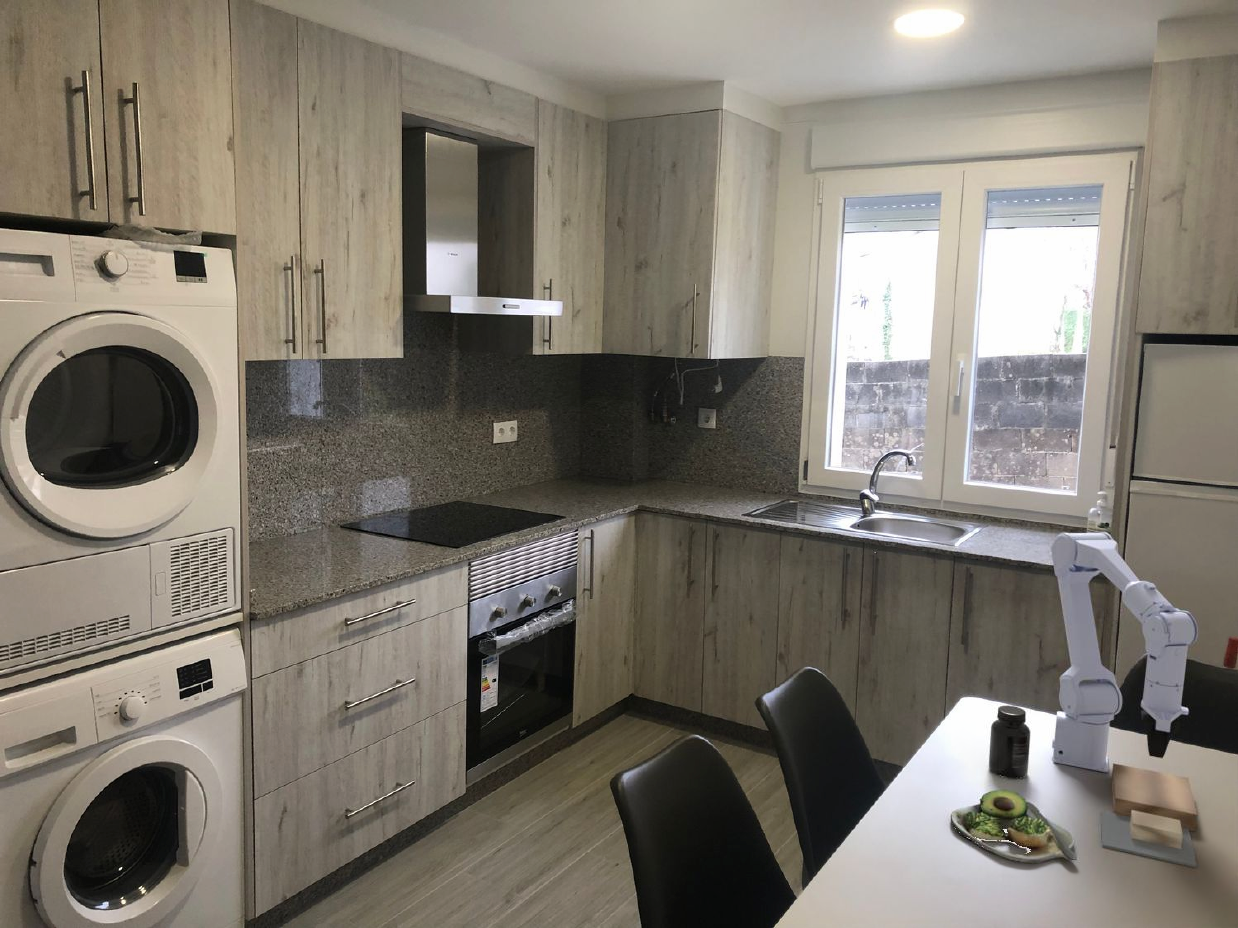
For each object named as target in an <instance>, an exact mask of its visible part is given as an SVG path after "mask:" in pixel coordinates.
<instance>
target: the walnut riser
mask: <svg viewBox="0 0 1238 928" xmlns="http://www.w3.org/2000/svg"><path fill="white" fill-rule="evenodd" d="M1111 770H1112V772H1111V789H1112V790H1111V791H1112V805H1113V806H1112V807H1113V813H1116V814H1121V815H1125V816H1130V817H1131V811H1132V810H1134V811H1139V812H1144V813H1148V814H1153V815H1158V816H1162V817H1167V818H1172V819H1177V820H1180V823H1181V827H1182V828H1187V829H1189V832H1196V828H1197V819H1198V813H1197V812H1198V811H1197V809H1196V805H1195V800H1194V795H1193V792H1192V788H1191V783H1190V780H1189V777H1186V776H1182V775H1176V774H1170V773H1165V772H1161V771H1155V770H1148V769H1144V768H1140V767H1134V766H1129V765H1123V764H1120V763H1119V764H1118V763H1112V769H1111Z"/></svg>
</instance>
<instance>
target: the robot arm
mask: <svg viewBox="0 0 1238 928" xmlns="http://www.w3.org/2000/svg"><path fill="white" fill-rule="evenodd" d="M1051 544H1052V545H1051V546H1050V551H1051V558H1052V563H1053V570H1054V575H1055V577H1057V583H1058V590H1059V597H1060V602H1061V608H1062V615H1063V623H1064V627H1065V634H1066V642H1067V649H1068V653H1069V660H1070V665H1071V666H1070V667H1069V668H1068V669H1067V670H1066V671H1065V672H1064V673H1062V674H1061V676H1060V677H1059V685H1060V687H1059V693H1058V699H1059V700H1058V701H1059V705H1060V707H1061V708H1062V710H1063V711H1059V710H1058V711H1056V719H1055V729H1054V730H1055V731H1054V738H1052V744H1051V748H1052V749H1053V753H1052V754H1053V755H1052V762H1053V763H1057V764H1061V765H1066V766H1071V767H1077V768H1082V769H1088V770H1092V771H1099V772H1102V773H1108V772H1109V756H1108V744H1109V742H1108V741H1109V733H1110V725H1111V724H1110V722H1111V721H1113V720H1114V719H1115V715H1118V714H1119V713H1120V712H1121V709H1122V707H1123V695H1122V693H1121V690H1120V688H1119V687H1118V684H1117V681H1116V675H1115V674H1114V673H1113V672H1112V671H1110V670H1109V669H1107V668H1106V667H1105V666H1103V664H1102V659H1101V653H1100V648H1099V647H1100V646H1099V640H1098V635H1097V634H1098V633H1097V629H1096V623H1095V616H1094V611H1093V605H1092V597H1091V591H1090V586H1089V584H1090V581H1091V580H1092V578H1093V577H1096V576H1097V575H1099V574H1100V573H1102V574H1103V575H1104V576H1105V577H1106V578H1107V579H1108V580H1110V582H1111V583H1112V584H1113V585H1114V586H1115V587H1117V588H1118V589H1119V590H1120V592H1122V596H1121V601H1122V603H1123V604H1124V605H1125V607H1126V608H1127V609H1128V610H1129V611H1130V613H1132V614H1133V615H1134V616H1135V618H1136V619H1137V620H1138V622H1140V623H1141V624H1142V625H1141V629H1142V634H1143V637H1144V641H1145V645H1144V646H1145V647H1144V649H1145V652H1146V653H1147V657H1146V668H1145V678H1144V687H1143V695H1142V700H1141V702H1140V707H1141V708H1142V709H1143V710H1141V711H1140V714H1141V721H1142V723H1143V725H1144V728H1145V731H1146V737H1147V739H1146V740H1147V750H1148V756H1149V757H1154V758H1159V759H1164V756H1165V754H1166V752H1167V749H1168V747H1169V743H1170V741H1171V739H1172V737H1173V735H1175V733H1176V732H1177V731H1178V729H1179V728H1180V722H1179V721H1180V718H1179V717H1180V716H1181V715H1185V716H1188V715H1189V712H1190V711H1189V708H1188V707H1187V706H1186V707H1185V706H1182V700H1183V699H1182V698H1183V691H1184V683H1185V676H1186V675H1185V674H1186V665H1187V656H1188V651H1189V650H1188V647H1189V646H1191V645H1194V644H1195V643H1196V641H1197V640H1198V637H1199V627H1198V623H1197V620H1196V619H1195V618H1194V616H1193V615H1192V613H1191V612H1190V611H1187V610H1180V609H1179V608H1178V607H1174V606H1173V605H1172V604H1171V602H1169V601H1168V600H1167V599H1166V597H1164V596H1163V594H1162V593H1161V592H1160V591H1159V590H1158V589H1157V586H1156V585H1155V584H1154V583H1153V582H1149V581H1147V580H1140V579H1139V578H1138V577H1137V575H1135V573H1134V571H1132V569H1131V568H1130V567H1129V566H1128V564H1127V563H1126V561H1125V560H1124V559H1123V557H1122V556H1121V554H1119V545H1118V542H1117V541H1116V540H1114V538H1113V537H1112V536H1111V535H1110V533H1108V532H1106V531H1105V532H1104V531H1101V532H1084V533H1083V532H1079V533H1078V532H1077V533H1076V532H1075V533H1070V532H1069V533H1068V532H1061V533H1059V534H1058V535H1057V536H1055V539H1054V541H1053V542H1052V543H1051ZM1082 681H1094V682H1082Z"/></svg>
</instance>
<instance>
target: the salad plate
mask: <svg viewBox="0 0 1238 928" xmlns="http://www.w3.org/2000/svg"><path fill="white" fill-rule="evenodd" d="M1040 811H1041V810H1039V808H1038V807H1036V806H1035V804H1033V803H1031V802H1030V801H1026V799H1025V797H1023V796H1022V794H1019V793H1018V792H1015V791H1012V790H1009V789H994V790H990V791H988V792H986V793H984V794H982V795H981V798H979V803H978V804H974V805H970V806H965V807H961V808H957V809H955V810H953V811H952V812H951V814H950V822H951V825H952V827H953V828H954V827H955V828H956V829H955V828H954V829H955V831H957V832H958V833H959V832H960V833H961V834H962V835H963V836H965V837H968V838H970V839H971V840H973V841H974V842H976V843H978V844H979V845H980V846H979V845H978V846H979V847H981V846H983V847H984V848H986V849H988V850H990V851H992V852H994V853H993V854H995V853H996V854H995V855H997V854H998V856H999V855H1000V856H999V857H1001V856H1002V857H1001V858H1003V857H1005V858H1004V859H1006V858H1008V859H1007V860H1009V859H1011V860H1010V861H1012V860H1015V861H1014V862H1017V861H1020V862H1019V863H1023V862H1028V863H1027V864H1038V863H1037V862H1040V863H1043V862H1042V861H1044V862H1047V861H1050V860H1053V858H1054V859H1058V858H1065V859H1067V860H1068V861H1077V860H1078V857H1077V855H1076V854H1075V853H1074V851H1073V850H1072V848H1073V847H1074V846H1075V842H1074V841H1075V840H1074V836H1073V834H1072V832H1071V831H1070V830H1069V829H1066V828H1065V827H1063V826H1061V825H1060V824H1057V823H1056V822H1054V821H1053V820H1050V819H1048V818H1047V817H1045V816H1044V815H1043V814H1042V813H1041V812H1040ZM1003 829H1007V832H1008V833H1005V832H1004V830H1003ZM960 833H959V834H960ZM961 834H960V835H961ZM962 835H961V836H962ZM963 836H962V837H963ZM965 837H964V838H965ZM975 837H976V838H975ZM977 838H979V839H985V840H997V841H999V840H1000V841H1001V840H1009V841H1011V842H1015V843H1016V844H1017V845H1019V846H1022V847H1027V848H1029V849H1031V850H1030V851H1031V852H1029V853H1027V854H1024V853H1023V854H1024V855H1023V854H1017V853H1015V852H1014V853H1013V852H1010V851H1006V850H1001V849H998V848H995V847H992V846H990V845H988V844H986V843H984V842H983V841H982V842H983V843H982V842H981V841H979V840H977ZM974 842H973V843H974ZM984 848H983V849H984ZM986 849H985V850H986ZM988 850H987V851H988ZM990 851H989V852H990ZM992 852H991V853H992ZM1049 859H1050V860H1049ZM1046 860H1047V861H1046Z"/></svg>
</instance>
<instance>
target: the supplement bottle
mask: <svg viewBox="0 0 1238 928" xmlns="http://www.w3.org/2000/svg"><path fill="white" fill-rule="evenodd" d="M1026 713H1027V712H1026V710H1024V709H1023V708H1021V707H1019V706H1014V705H1013V706H1012V705H1001V706H999V707H998V708H997V713H996V714H997V715H996V716H997V717H996V720H994V721H993V722H992V723H991V727H990V737H989V738H990V739H989V757H988V768H989V770H990V771H991V772H992V771H993V772H994V774H995V773H996V774H995V775H997V776H999V775H1001V776H1000V777H1002V776H1003V777H1002V778H1006V777H1007V779H1014V780H1015V779H1022V778H1024V777H1026V776H1027V774H1028V771H1029V758H1030V746H1031V745H1030V744H1031V729H1030V728H1029V726H1028V725H1027V724H1026V722H1027V717H1026V715H1027V714H1026ZM993 772H992V773H993Z"/></svg>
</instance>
